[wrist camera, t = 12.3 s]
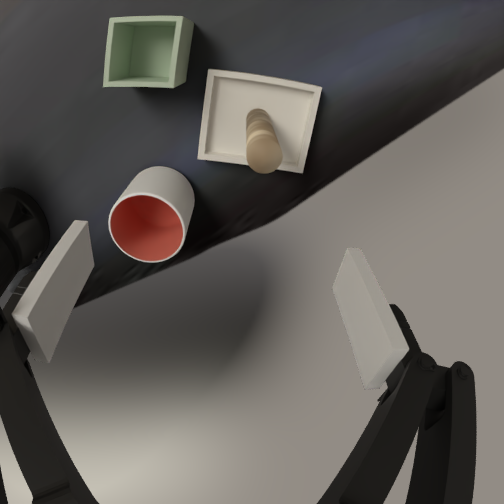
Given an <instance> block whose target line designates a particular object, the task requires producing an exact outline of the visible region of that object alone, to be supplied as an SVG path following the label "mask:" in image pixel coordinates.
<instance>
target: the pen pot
mask: <svg viewBox="0 0 504 504" xmlns="http://www.w3.org/2000/svg"><path fill="white" fill-rule="evenodd" d="M193 28H194V23H193V22H191V21H190V20H188V19H187V18H185V17H183V16H135V17H118V18H110V21H109V28H108V37H107V46H106V56H105V68H104V83H103V87H163V88H175V87H177V86H179V85H181V84H183V83H185V82H186V79H187V71H188V63H189V55H190V48H191V42H192V35H193Z"/></svg>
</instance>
